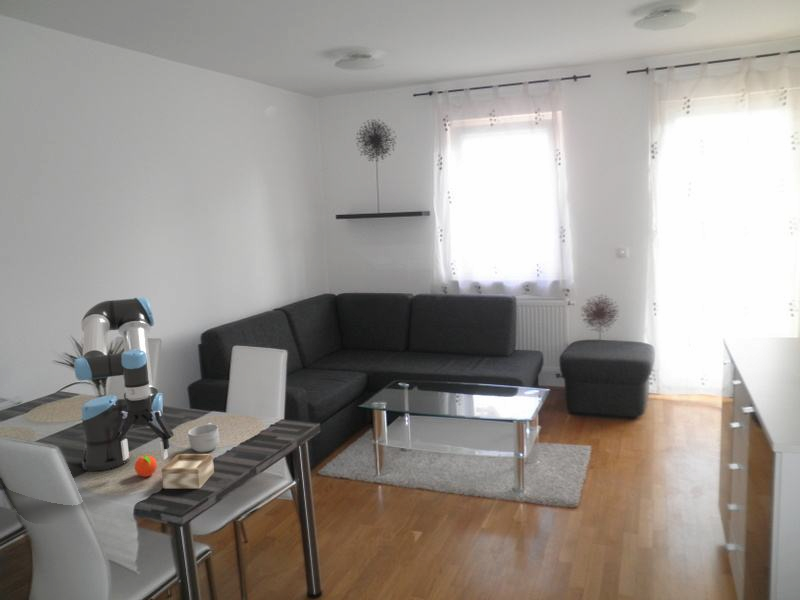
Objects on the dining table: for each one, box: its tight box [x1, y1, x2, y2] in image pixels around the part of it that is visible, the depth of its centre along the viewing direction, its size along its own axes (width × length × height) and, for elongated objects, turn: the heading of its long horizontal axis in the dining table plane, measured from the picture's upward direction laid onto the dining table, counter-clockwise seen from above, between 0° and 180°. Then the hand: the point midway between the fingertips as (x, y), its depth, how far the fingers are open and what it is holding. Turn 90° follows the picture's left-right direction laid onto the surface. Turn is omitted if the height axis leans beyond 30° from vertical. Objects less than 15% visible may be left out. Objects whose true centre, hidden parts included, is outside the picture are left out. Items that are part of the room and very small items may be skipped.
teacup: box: [187, 422, 220, 453], centre depth 233 cm, size 14×11×8 cm
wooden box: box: [161, 453, 215, 489], centre depth 206 cm, size 12×12×6 cm
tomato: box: [134, 454, 158, 477], centre depth 211 cm, size 8×7×7 cm
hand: (145, 458), depth 210 cm, fingers open, 13 cm apart
